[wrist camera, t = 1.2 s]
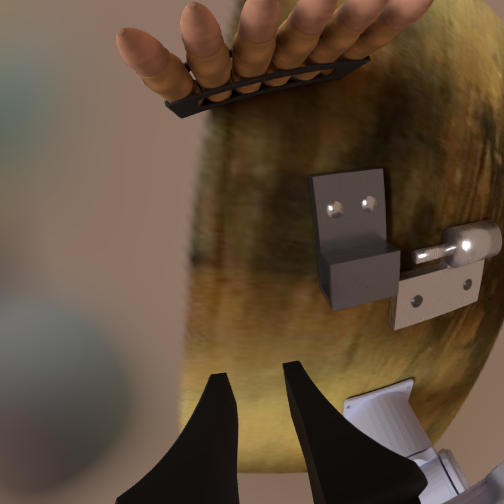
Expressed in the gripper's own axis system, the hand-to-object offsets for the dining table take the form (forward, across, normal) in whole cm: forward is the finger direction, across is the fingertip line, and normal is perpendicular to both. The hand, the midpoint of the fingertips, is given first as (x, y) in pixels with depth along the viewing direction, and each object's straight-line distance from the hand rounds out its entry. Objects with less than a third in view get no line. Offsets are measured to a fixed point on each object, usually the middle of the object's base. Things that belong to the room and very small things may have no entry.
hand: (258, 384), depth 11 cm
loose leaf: (+10, -7, -2) cm, 13 cm away
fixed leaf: (+10, -16, +2) cm, 19 cm away
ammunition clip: (+10, -3, -13) cm, 17 cm away
